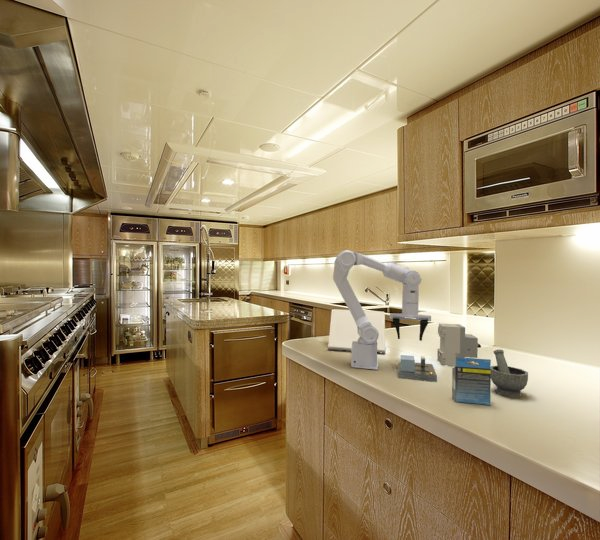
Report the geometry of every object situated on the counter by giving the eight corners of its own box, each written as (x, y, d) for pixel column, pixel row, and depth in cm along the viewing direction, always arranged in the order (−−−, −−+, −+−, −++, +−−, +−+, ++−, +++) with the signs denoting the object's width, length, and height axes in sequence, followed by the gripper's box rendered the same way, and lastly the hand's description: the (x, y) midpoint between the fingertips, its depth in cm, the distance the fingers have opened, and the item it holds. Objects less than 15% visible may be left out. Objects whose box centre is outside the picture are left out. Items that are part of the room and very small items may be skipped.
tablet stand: (331, 342, 161) (332, 308, 161) (383, 346, 156) (384, 310, 156) (327, 351, 143) (328, 313, 143) (385, 355, 138) (386, 315, 138)
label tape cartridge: (485, 400, 91) (486, 356, 91) (490, 405, 87) (491, 359, 87) (451, 396, 93) (452, 353, 93) (454, 402, 89) (455, 356, 89)
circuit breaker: (482, 368, 122) (482, 328, 122) (441, 365, 125) (442, 326, 125) (475, 362, 129) (476, 325, 129) (437, 360, 132) (438, 323, 132)
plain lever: (421, 366, 115) (421, 357, 115) (420, 364, 117) (420, 356, 117) (425, 366, 114) (425, 358, 114) (424, 364, 117) (424, 356, 117)
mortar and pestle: (536, 400, 91) (536, 357, 91) (502, 399, 91) (503, 356, 91) (510, 386, 103) (510, 348, 103) (480, 385, 103) (481, 347, 103)
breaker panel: (398, 377, 108) (398, 370, 108) (397, 366, 122) (397, 359, 122) (436, 381, 105) (436, 374, 105) (431, 369, 119) (432, 363, 119)
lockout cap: (400, 371, 109) (400, 359, 109) (400, 366, 115) (400, 355, 115) (414, 372, 108) (414, 360, 108) (413, 367, 114) (413, 355, 114)
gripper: (389, 302, 119) (389, 339, 119) (432, 304, 115) (431, 343, 115) (390, 301, 126) (389, 336, 126) (430, 303, 122) (429, 339, 122)
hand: (409, 339), depth 121 cm, fingers open, 7 cm apart
